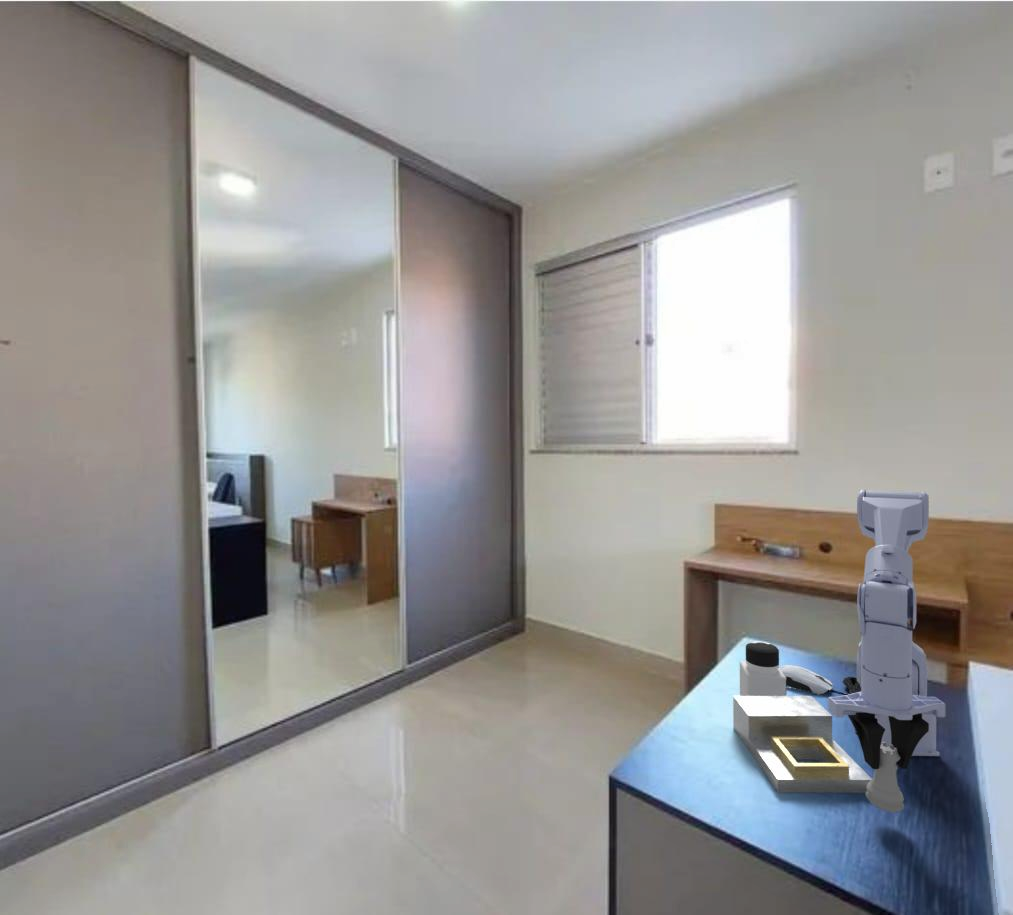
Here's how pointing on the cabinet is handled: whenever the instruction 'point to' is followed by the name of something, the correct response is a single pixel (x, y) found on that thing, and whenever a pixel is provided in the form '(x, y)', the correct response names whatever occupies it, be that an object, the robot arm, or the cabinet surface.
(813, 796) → the cabinet surface
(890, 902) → the cabinet surface
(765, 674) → the medicine bottle
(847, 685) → the computer mouse
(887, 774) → the rook chess piece
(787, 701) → the white stepped block
